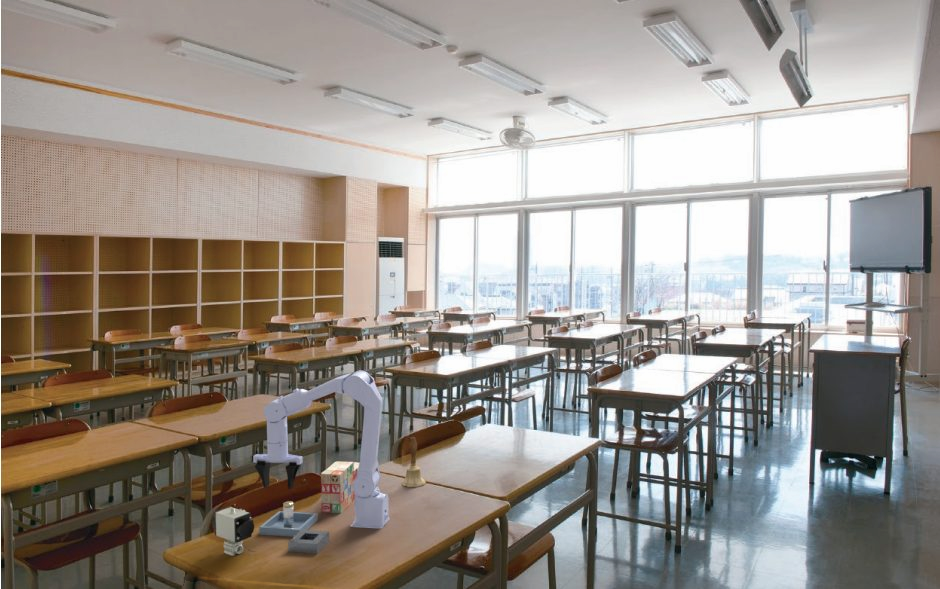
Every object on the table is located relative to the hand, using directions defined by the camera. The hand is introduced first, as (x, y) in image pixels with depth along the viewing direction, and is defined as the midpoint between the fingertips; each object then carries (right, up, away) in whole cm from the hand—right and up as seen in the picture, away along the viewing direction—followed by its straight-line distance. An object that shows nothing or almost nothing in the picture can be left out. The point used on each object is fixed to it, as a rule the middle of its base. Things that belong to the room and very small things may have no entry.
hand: (278, 487), depth 191 cm
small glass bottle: (+4, -10, -5) cm, 12 cm away
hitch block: (+13, -11, -17) cm, 24 cm away
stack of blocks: (+16, -10, +18) cm, 26 cm away
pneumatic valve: (-6, -12, -20) cm, 24 cm away
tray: (+4, -11, -4) cm, 12 cm away
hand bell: (+37, -9, +34) cm, 50 cm away
